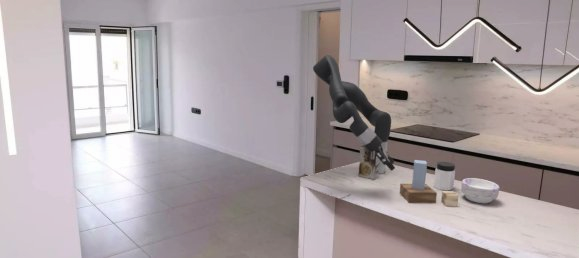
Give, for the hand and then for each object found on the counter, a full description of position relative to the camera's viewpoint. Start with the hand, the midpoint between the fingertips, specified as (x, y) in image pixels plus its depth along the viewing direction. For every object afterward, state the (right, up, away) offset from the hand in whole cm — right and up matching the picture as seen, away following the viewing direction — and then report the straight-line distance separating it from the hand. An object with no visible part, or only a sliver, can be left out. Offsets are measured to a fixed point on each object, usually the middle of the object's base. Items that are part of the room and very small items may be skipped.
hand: (393, 166), depth 180 cm
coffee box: (-5, -8, +29) cm, 30 cm away
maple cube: (+22, -16, -7) cm, 28 cm away
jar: (+28, -12, +15) cm, 34 cm away
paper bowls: (+38, -15, -1) cm, 41 cm away
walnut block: (+11, -14, -1) cm, 18 cm away
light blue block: (+11, -9, -1) cm, 14 cm away
